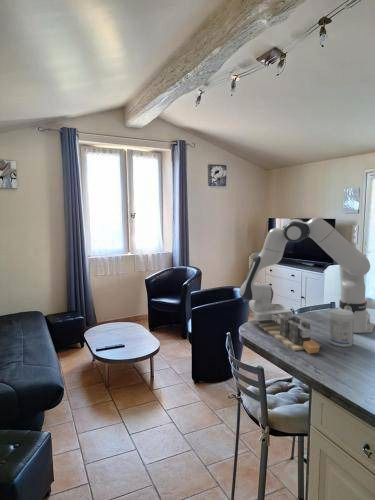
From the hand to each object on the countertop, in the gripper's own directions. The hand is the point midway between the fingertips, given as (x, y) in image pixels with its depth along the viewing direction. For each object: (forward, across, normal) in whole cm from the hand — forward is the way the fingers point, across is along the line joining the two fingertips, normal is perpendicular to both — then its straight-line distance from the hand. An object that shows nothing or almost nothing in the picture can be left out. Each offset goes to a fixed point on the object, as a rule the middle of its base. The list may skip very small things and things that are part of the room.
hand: (280, 318), depth 163 cm
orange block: (+23, 0, +4) cm, 24 cm away
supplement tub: (+22, +18, +7) cm, 29 cm away
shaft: (+11, 0, +3) cm, 11 cm away
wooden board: (+6, 0, +6) cm, 9 cm away
